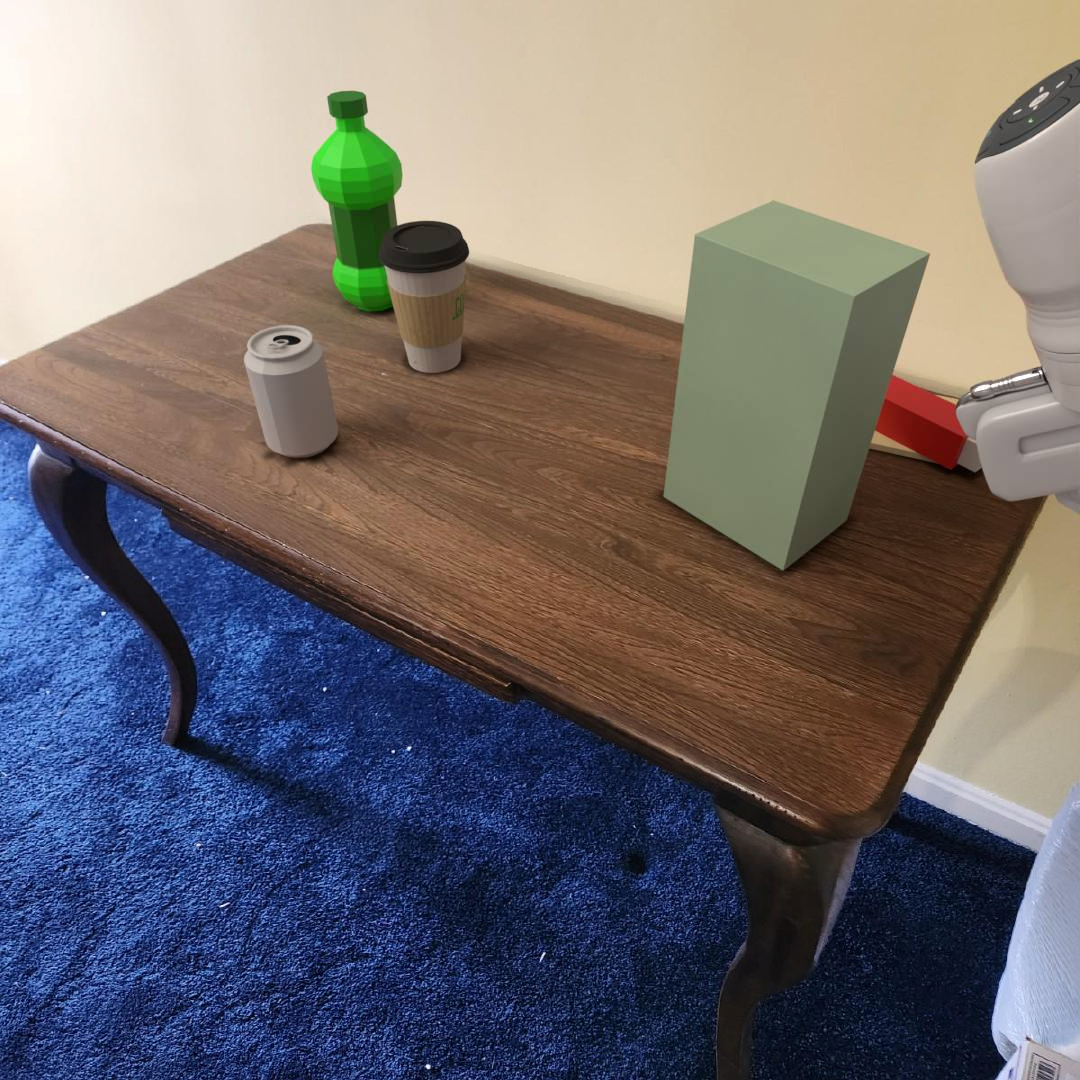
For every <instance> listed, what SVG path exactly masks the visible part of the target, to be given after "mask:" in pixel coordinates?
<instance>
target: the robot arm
mask: <svg viewBox="0 0 1080 1080" xmlns="http://www.w3.org/2000/svg"><path fill="white" fill-rule="evenodd" d="M973 181H974V188H975V193H976V198H977V202H978V206H979V210H980V214H981V217H982V220H983V224H984V226H985V230H986V233H987V235H988V236H987V237H988V239H989V241H990V245H991V248H992V250H993V252H994V255H995V257H996V260H997V263H998V265H999V268H1000V270H1001V273H1002V275H1003V277H1004V279H1005V281H1006V283H1007V284H1008V286H1009V287H1010V288H1011V289H1012V290H1013V291H1014V292H1015V293H1016V294H1017V296H1018V297H1019V298H1020V299H1021V301H1022V302H1023V305H1024V309H1025V323H1026V331H1027V335H1028V337H1029V340H1030V342H1031V345H1032V347H1033V349H1034V352H1035V354H1036V356H1037V359H1038V362H1039V364H1040V366H1036V367H1032V368H1029V369H1025V370H1022V371H1018V372H1015V373H1013V374H1009V375H1008V376H1004V377H1001V378H998V379H994V380H993V379H989V380H988V379H987V380H983V381H981V382H977V383H976V384H974V385H972V386H971V387H970V388H969V391H967V392H966V393H964V394H963V395H962V396H960V398H958V399H959V400H958V402H957V404H956V408H955V412H956V416H957V418H958V420H959V422H960V424H961V427H962V429H963V431H964V432H965V433H966V435H968V436H969V437H970V438H972V439H974V440H976V443H977V450H978V454H979V459H980V462H981V466H982V468H981V469H982V472H983V475H984V479H985V481H986V483H987V487H988V489H989V490H990V492H991V494H993V495H994V496H996V497H997V498H1000V499H1002V500H1004V501H1006V502H1017V501H1022V500H1029V499H1034V498H1040V497H1045V496H1050V495H1051V496H1052V495H1054V496H1055V498H1056V501H1057V502H1058V503H1059V504H1060V505H1062V506H1064V507H1066V508H1068V509H1069V510H1071V511H1073V512H1075V513H1077V514H1078V515H1080V59H1076V60H1074V61H1072V62H1070V63H1068V64H1066V65H1064V66H1062V67H1060V68H1059V69H1057V70H1056V71H1054V72H1052V73H1050V74H1049V75H1047V76H1045V77H1044V78H1043V79H1041V80H1039V81H1038V82H1037V83H1035V84H1034V85H1032V86H1031V87H1030V88H1029V89H1027V91H1026V90H1025V92H1024V93H1022V94H1021V95H1020V96H1019V97H1017V98H1016V99H1015V100H1014V102H1013V103H1012V104H1011V105H1010V106H1009V107H1007V108H1006V110H1004V111H1003V112H1001V113H1000V115H999V116H998V117H997V118H996V120H995V121H994V122H993V124H992V125H991V127H990V129H989V130H988V132H987V133H986V135H985V137H984V138H983V141H982V143H981V144H980V146H979V148H978V152H977V154H976V157H975V161H974V163H973Z"/></svg>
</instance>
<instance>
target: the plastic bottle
mask: <svg viewBox="0 0 1080 1080" xmlns="http://www.w3.org/2000/svg"><path fill="white" fill-rule="evenodd" d="M326 98H327V105H328V111H329V115H330V116H331V117H332V118H334V120H335V126H336V129H335V130H334V131H333V132H332V133H331V134H330V135H329V137H328V138H327V139H326V140H325V141H324V142H323V143H322V145H321V146H320V147H319V148H318V149H317V151H316V152H315V153H314V155H313V156H312V160H311V166H310V170H311V176H312V180H313V183H314V185H315V188H316V191H317V192H318V194H319V195H320V196H321V197H322V199H323V200H324V201H326V202H327V203H328V211H329V215H330V222H331V227H332V228H331V229H332V234H333V239H334V245H335V252H336V259H335V260H334V261H335V262H334V264H333V268H332V279H333V283H334V284H335V286H336V288H337V289H338V290H339V292H340V294H341V295H342V297H343V298H344V299H345V300H346V301H347V302H348V303H350V304H351V305H353V306H355V307H357V308H358V309H359V310H362V311H366V312H368V313H369V312H370V313H371V312H382V311H386V310H388V309H389V308H392V307H393V303H392V299H391V295H390V291H389V288H388V284H387V279H388V277H387V273H386V269H385V265H383V264H382V263H381V262H380V259H379V249H380V247H381V245H382V242H383V236H384V234H385V233H386V232H387V231H388V230H390V229H391V228H393V227H395V226H398V219H397V210H396V202H395V201H396V200H395V196H396V194H397V193H398V192H399V190H400V189H401V187H402V185H403V167H402V162H401V160H400V158H399V156H398V154H397V152H396V151H395V150H394V149H393V148H392V147H391V146H390V145H389V144H388V143H386V142H385V141H384V140H383V139H382V138H381V137H379V136H378V135H377V134H376V133H375V132H374V131H372V130H371V129H369V128H367V127H366V123H365V116H366V115H367V114H368V113H369V109H368V101H367V95H366V94H365V93H364V92H363V91H357V90H340V91H336V92H332V93H331V92H330V94H328V95H327V96H326Z"/></svg>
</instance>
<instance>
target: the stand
mask: <svg viewBox="0 0 1080 1080" xmlns="http://www.w3.org/2000/svg"><path fill="white" fill-rule="evenodd" d="M692 247H693V248H692V256H691V263H690V264H691V265H690V272H689V281H688V289H687V297H686V304H685V305H686V306H685V314H684V322H683V331H682V339H681V346H680V347H681V348H680V356H679V363H678V370H677V371H678V372H677V381H676V389H675V397H674V404H673V414H672V423H671V429H670V438H669V448H668V456H667V464H666V472H665V481H664V489H663V495H662V496H663V498H665V499H666V500H668V501H670V502H671V503H673V504H674V505H676V506H677V507H679V508H680V509H683V510H684V511H686V512H687V513H688V514H690V515H692V516H694V517H695V518H697V519H698V520H700V521H702V522H703V523H705V524H707V525H708V526H710V527H711V528H713V529H714V530H716V531H718V532H720V533H721V534H723V535H725V536H726V537H728V538H729V539H731V540H732V541H734V542H736V543H737V544H738V545H740V546H742V547H744V548H746V549H747V550H748V551H750V552H752V553H754V554H755V555H757V556H759V557H760V558H761V559H763V560H765V561H766V562H768V563H769V564H771V565H772V566H775V567H776V568H777V569H779V570H781V571H783V572H784V571H785V570H786V569H788V568H789V567H790V566H791V565H792V564H794V563H796V561H798V560H799V559H800V558H802V557H803V556H804V555H805V554H807V553H808V552H809V551H810V550H811V549H813V548H814V547H815V546H816V545H818V544H819V543H820V542H821V541H823V540H824V539H825V538H826V537H828V536H829V535H831V534H832V533H833V532H834V531H835V530H836V529H838V528H839V527H840V526H841V525H843V524H844V523H845V522H847V521H848V517H849V514H850V511H851V507H852V505H853V501H854V498H855V495H856V491H857V488H858V486H859V482H860V480H861V479H860V478H861V475H862V474H863V473H862V472H863V470H864V466H865V463H866V460H867V457H868V454H869V451H870V449H869V447H870V444H871V441H872V438H873V435H874V432H875V428H876V425H877V422H878V419H879V416H880V412H881V409H882V406H883V403H884V400H885V396H886V393H887V390H888V387H889V384H890V380H891V377H892V375H893V374H894V371H895V367H896V364H897V361H898V359H899V355H900V352H901V348H902V345H903V343H904V339H905V335H906V332H907V329H908V326H909V323H910V320H911V317H912V313H913V310H914V307H915V303H916V300H917V298H918V294H919V291H920V288H921V284H922V281H923V278H924V275H925V272H926V270H927V265H928V262H929V259H930V256H931V253H930V252H928V251H925V250H922V249H920V248H917V247H914V246H910V245H908V244H905V243H901V242H899V241H896V240H893V239H890V238H886V237H884V236H881V235H877V234H874V233H871V232H869V231H866V230H863V229H860V228H857V227H854V226H851V225H848V224H845V223H842V222H838V221H837V220H833V219H830V218H828V217H824V216H821V215H818V214H815V213H813V212H809V211H807V210H804V209H800V208H798V207H795V206H791V205H789V204H785V203H782V202H780V201H777V200H771V201H769V202H765V203H764V204H761V205H759V206H757V207H754V208H752V209H749V210H748V211H746V212H743V213H741V214H739V215H735V216H733V217H732V218H729V219H727V220H724V221H722V222H719V223H717V224H715V225H712V226H711V227H708V228H705V229H703V230H701V231H700V232H697V233H695V234H694V240H693V246H692Z"/></svg>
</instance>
